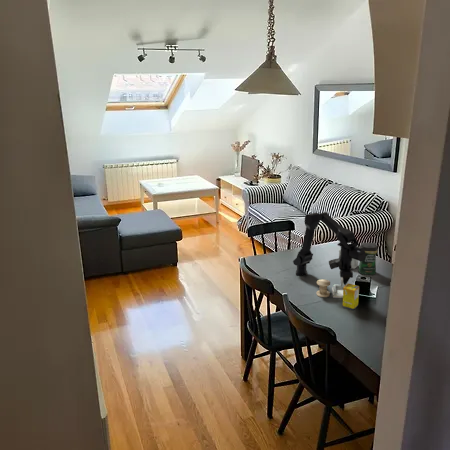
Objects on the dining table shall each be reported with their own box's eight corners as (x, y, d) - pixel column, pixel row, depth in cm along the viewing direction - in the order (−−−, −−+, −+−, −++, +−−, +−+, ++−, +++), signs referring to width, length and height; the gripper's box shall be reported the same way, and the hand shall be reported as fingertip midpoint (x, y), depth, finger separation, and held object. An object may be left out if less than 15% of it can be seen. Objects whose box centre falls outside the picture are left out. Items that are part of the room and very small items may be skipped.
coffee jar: (359, 275, 249) (361, 245, 243) (357, 269, 256) (359, 240, 251) (376, 275, 247) (379, 245, 242) (374, 270, 255) (376, 240, 249)
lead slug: (348, 283, 228) (348, 271, 226) (348, 287, 224) (349, 275, 222) (340, 283, 228) (340, 271, 226) (340, 286, 225) (341, 274, 222)
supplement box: (347, 302, 218) (348, 283, 215) (358, 305, 214) (359, 286, 211) (342, 307, 214) (343, 287, 210) (353, 310, 210) (354, 290, 207)
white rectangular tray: (332, 288, 233) (332, 283, 232) (355, 290, 231) (355, 284, 230) (333, 297, 224) (333, 292, 223) (356, 298, 222) (357, 293, 221)
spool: (316, 291, 232) (316, 279, 230) (329, 291, 230) (330, 279, 228) (316, 296, 225) (316, 284, 223) (330, 297, 224) (330, 285, 222)
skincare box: (358, 265, 263) (359, 249, 259) (354, 269, 258) (355, 252, 254) (341, 262, 268) (342, 246, 265) (338, 265, 263) (338, 249, 260)
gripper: (329, 248, 231) (328, 274, 236) (330, 261, 214) (329, 289, 218) (350, 249, 229) (349, 275, 234) (353, 262, 212) (352, 291, 216)
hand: (344, 282), depth 226 cm, fingers closed on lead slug, 4 cm apart
